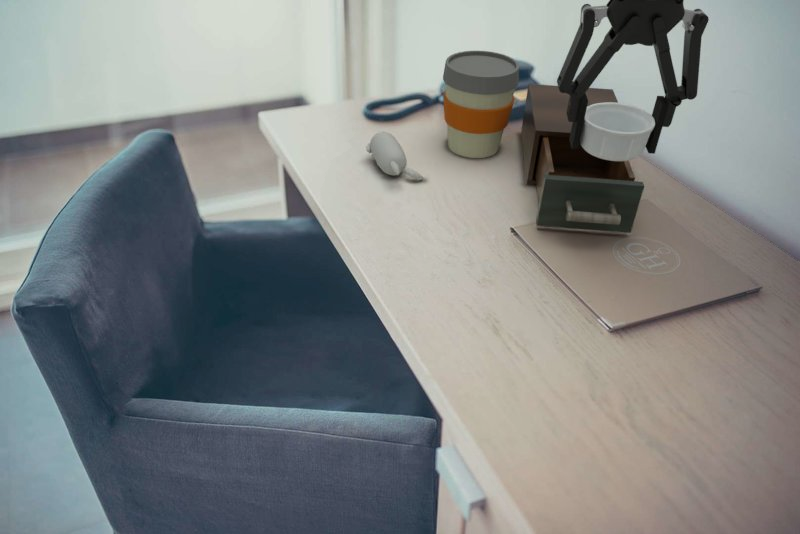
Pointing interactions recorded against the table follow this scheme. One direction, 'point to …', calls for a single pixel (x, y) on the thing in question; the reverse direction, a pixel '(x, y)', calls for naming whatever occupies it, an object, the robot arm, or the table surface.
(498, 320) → the table surface
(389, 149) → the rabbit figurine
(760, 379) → the table surface
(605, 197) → the drawer
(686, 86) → the robot arm
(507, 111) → the reusable coffee cup
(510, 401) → the table surface
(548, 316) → the table surface
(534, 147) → the cabinet
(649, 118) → the ramekin
